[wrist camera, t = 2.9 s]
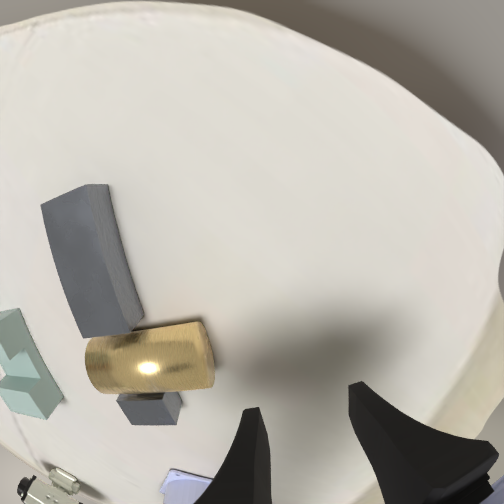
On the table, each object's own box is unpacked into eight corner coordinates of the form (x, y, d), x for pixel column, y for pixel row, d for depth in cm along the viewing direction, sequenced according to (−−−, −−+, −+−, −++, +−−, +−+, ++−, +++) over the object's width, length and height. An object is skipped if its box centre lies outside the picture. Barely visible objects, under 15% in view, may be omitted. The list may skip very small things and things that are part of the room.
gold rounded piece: (200, 311, 18) (188, 341, 14) (216, 364, 19) (211, 401, 15) (104, 326, 18) (76, 352, 14) (124, 373, 19) (104, 405, 15)
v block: (19, 308, 18) (-8, 325, 14) (63, 396, 20) (46, 419, 16) (-13, 314, 18) (-35, 328, 14) (27, 391, 20) (10, 411, 16)
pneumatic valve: (98, 494, 26) (82, 543, 14) (40, 462, 24) (17, 505, 12) (99, 485, 24) (80, 539, 13) (36, 449, 23) (9, 496, 11)
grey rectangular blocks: (107, 184, 16) (86, 184, 13) (182, 401, 20) (176, 424, 17) (64, 201, 16) (40, 204, 13) (140, 403, 20) (132, 424, 17)
